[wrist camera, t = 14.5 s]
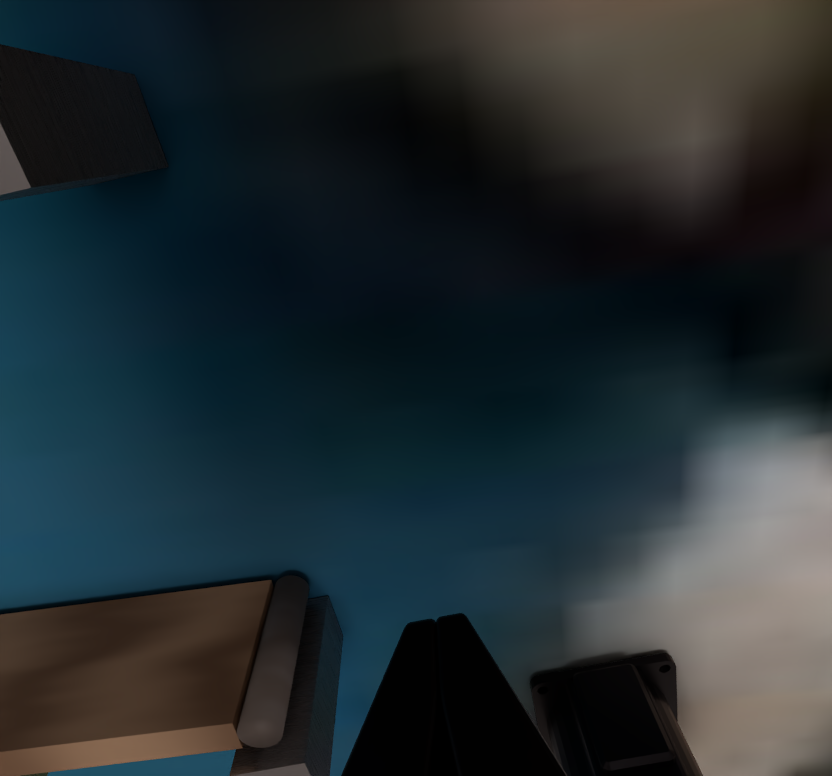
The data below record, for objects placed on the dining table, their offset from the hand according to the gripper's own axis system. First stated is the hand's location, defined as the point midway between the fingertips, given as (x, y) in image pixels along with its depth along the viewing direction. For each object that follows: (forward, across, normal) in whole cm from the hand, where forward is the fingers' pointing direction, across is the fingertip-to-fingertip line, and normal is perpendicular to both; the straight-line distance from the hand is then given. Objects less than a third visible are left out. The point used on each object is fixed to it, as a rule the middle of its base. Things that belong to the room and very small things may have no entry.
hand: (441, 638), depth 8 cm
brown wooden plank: (+12, +14, +9) cm, 20 cm away
